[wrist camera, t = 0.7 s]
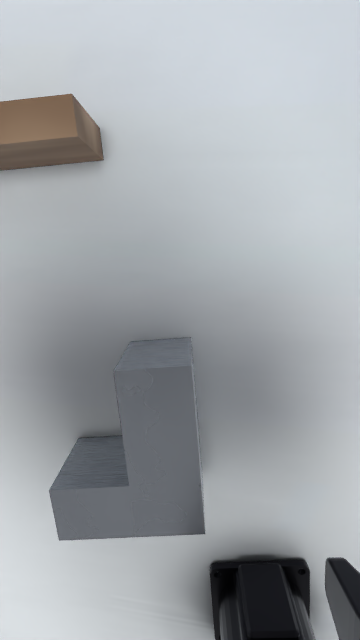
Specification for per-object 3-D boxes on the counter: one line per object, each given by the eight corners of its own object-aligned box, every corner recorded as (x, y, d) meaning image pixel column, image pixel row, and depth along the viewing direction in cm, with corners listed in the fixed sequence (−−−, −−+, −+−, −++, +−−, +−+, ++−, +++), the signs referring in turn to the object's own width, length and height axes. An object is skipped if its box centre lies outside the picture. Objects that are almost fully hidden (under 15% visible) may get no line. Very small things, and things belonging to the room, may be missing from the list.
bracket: (202, 473, 21) (205, 534, 17) (85, 479, 22) (59, 540, 17) (191, 337, 19) (191, 365, 15) (63, 346, 20) (26, 376, 15)
